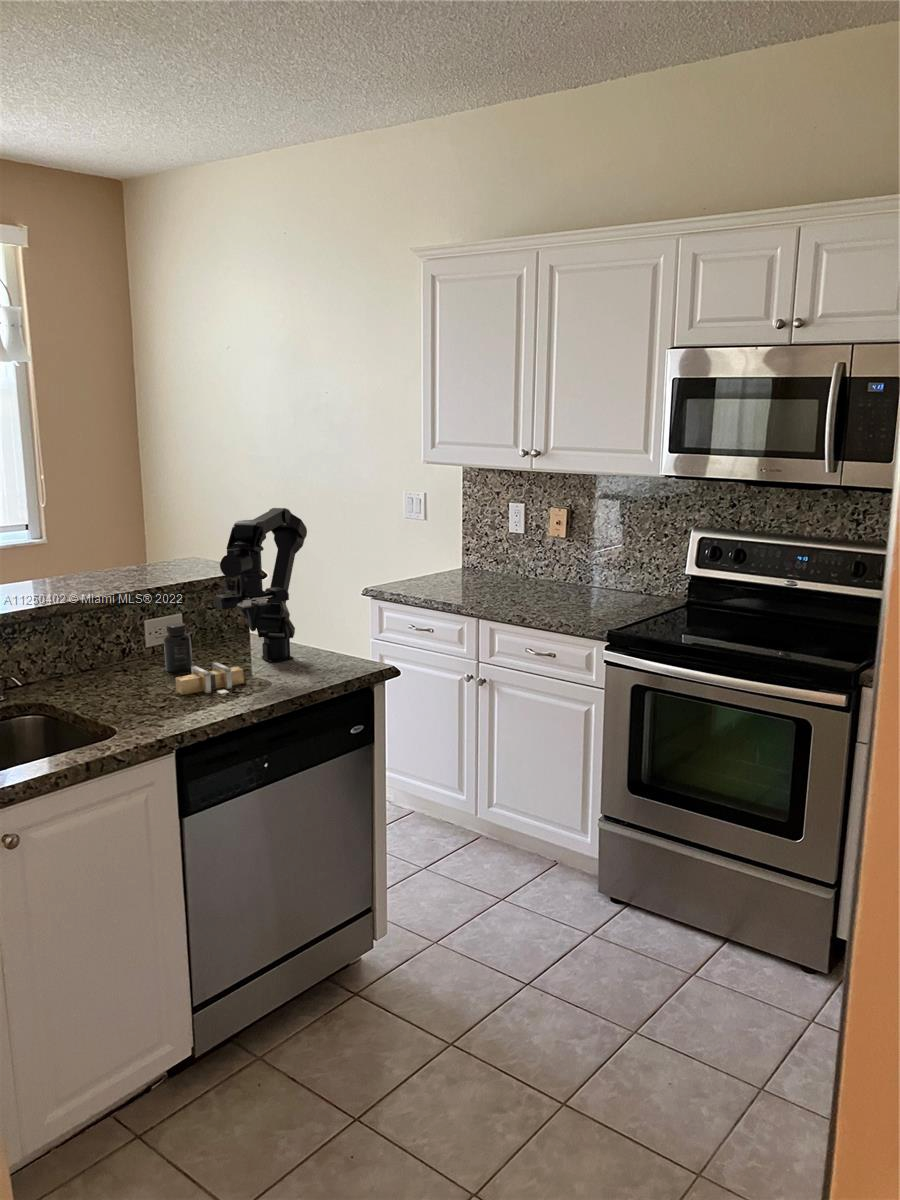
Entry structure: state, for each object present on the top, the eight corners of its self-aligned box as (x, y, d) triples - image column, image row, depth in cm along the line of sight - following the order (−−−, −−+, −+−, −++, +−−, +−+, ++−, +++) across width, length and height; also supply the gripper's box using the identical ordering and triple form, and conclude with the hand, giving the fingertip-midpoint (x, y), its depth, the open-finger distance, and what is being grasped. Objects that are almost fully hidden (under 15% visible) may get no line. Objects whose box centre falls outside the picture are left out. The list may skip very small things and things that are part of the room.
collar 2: (217, 680, 241) (216, 661, 240) (232, 688, 234) (231, 668, 233) (213, 681, 240) (211, 662, 239) (227, 689, 234) (226, 669, 233)
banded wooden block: (237, 679, 242) (236, 666, 241) (243, 683, 239) (243, 669, 238) (176, 691, 232) (175, 677, 231) (182, 695, 229) (181, 680, 229)
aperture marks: (203, 679, 241) (203, 678, 241) (228, 692, 231) (228, 691, 231) (195, 681, 240) (195, 680, 240) (221, 694, 229) (221, 693, 229)
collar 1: (196, 684, 237) (195, 665, 236) (211, 692, 231) (209, 672, 230) (192, 685, 236) (191, 666, 235) (206, 693, 230) (205, 673, 229)
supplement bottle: (196, 666, 254) (194, 622, 251) (187, 673, 247) (184, 628, 245) (171, 665, 254) (168, 621, 252) (161, 672, 248) (158, 627, 245)
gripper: (267, 562, 254) (270, 620, 258) (201, 570, 243) (205, 630, 246) (288, 568, 246) (291, 627, 249) (221, 576, 234) (224, 638, 238)
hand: (252, 630), depth 246 cm, fingers closed
